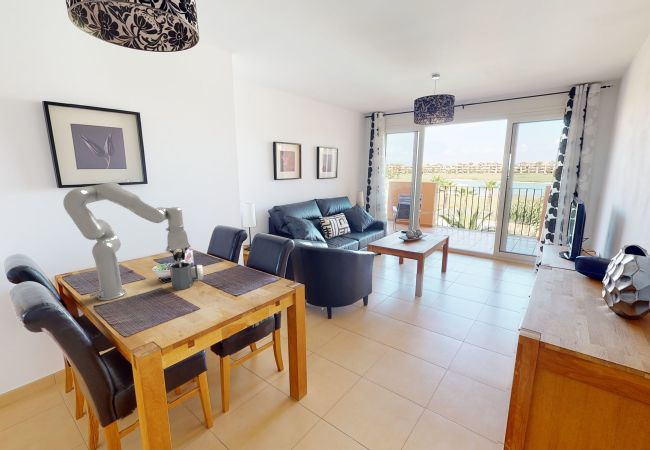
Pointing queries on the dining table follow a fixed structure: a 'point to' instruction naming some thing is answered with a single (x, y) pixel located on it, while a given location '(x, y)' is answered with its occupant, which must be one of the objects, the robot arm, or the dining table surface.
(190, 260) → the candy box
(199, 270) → the mug
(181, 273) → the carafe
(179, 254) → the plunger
